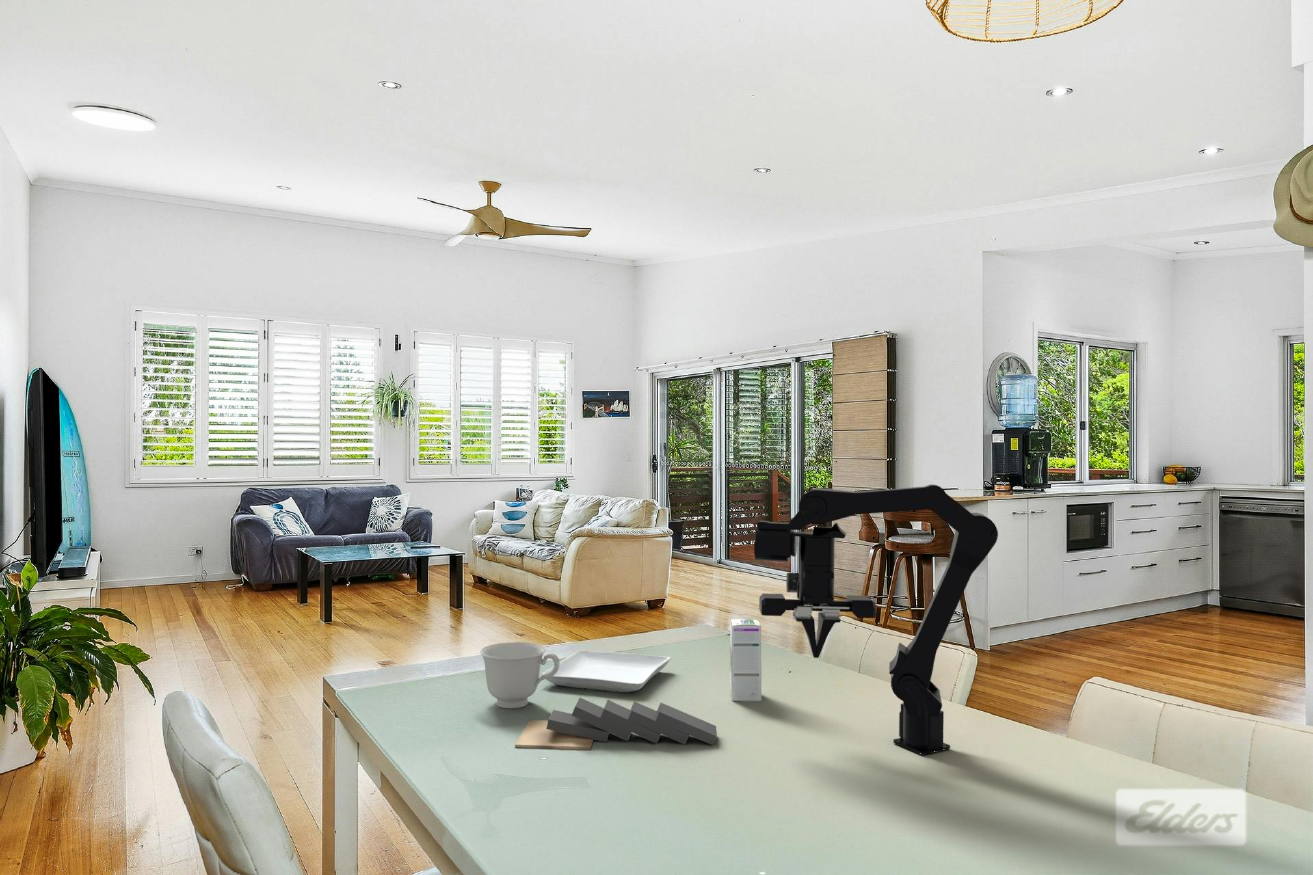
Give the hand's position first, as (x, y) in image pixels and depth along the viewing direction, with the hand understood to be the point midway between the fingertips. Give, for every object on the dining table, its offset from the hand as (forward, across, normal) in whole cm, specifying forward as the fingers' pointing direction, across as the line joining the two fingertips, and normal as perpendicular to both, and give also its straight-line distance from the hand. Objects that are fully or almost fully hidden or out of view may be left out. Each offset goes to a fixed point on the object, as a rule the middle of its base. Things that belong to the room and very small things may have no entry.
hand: (815, 657), depth 141 cm
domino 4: (+12, +21, +4) cm, 25 cm away
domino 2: (+12, +30, +4) cm, 33 cm away
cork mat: (+13, +42, +4) cm, 45 cm away
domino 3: (+12, +26, +4) cm, 29 cm away
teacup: (+13, +52, -12) cm, 55 cm away
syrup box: (+13, +10, -21) cm, 27 cm away
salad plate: (+14, +38, -31) cm, 51 cm away
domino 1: (+12, +34, +4) cm, 36 cm away
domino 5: (+12, +17, +4) cm, 21 cm away
